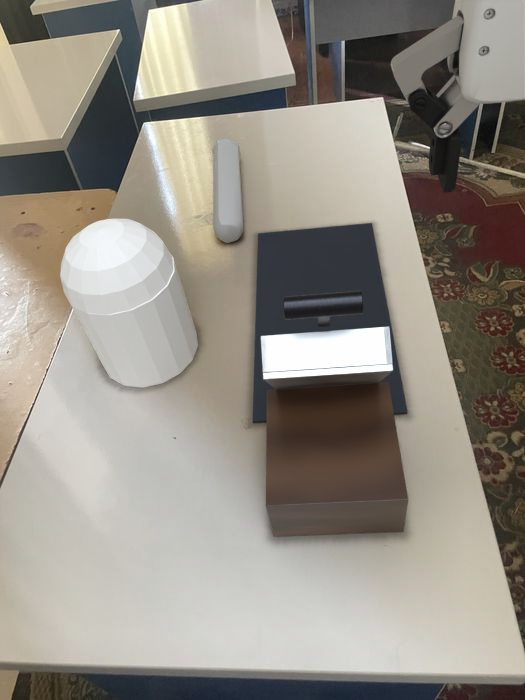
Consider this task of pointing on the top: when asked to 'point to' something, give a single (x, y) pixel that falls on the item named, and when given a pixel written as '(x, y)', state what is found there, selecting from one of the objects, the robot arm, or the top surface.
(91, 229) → the container
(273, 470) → the stand
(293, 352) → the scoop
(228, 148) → the tube
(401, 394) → the mat
